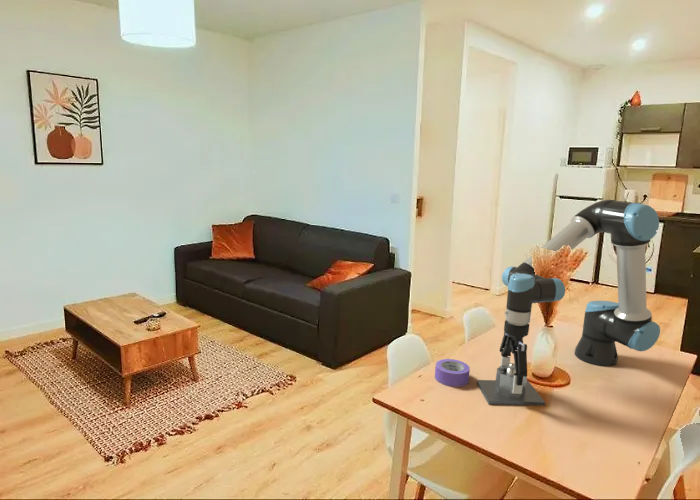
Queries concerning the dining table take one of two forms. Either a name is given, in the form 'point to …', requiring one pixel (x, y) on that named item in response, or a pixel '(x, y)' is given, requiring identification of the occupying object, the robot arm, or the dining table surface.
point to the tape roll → (452, 372)
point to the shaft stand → (498, 399)
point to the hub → (507, 383)
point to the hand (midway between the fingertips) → (510, 383)
